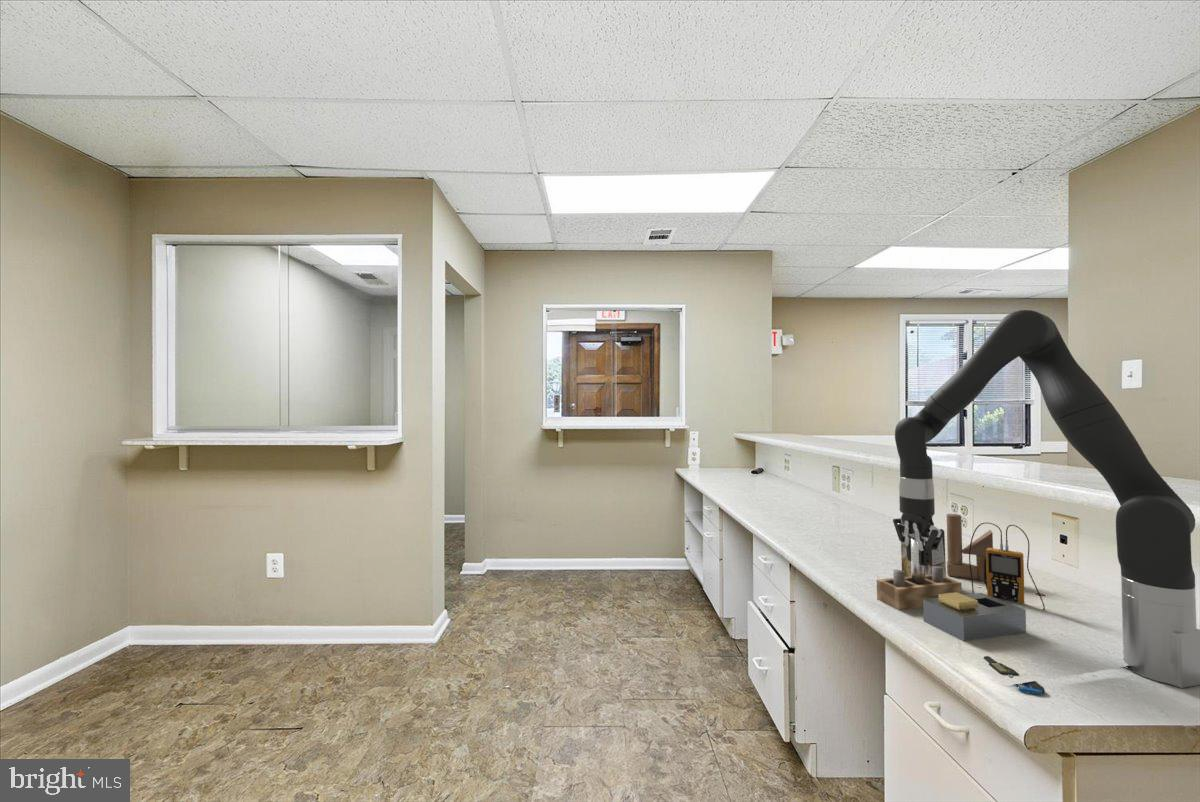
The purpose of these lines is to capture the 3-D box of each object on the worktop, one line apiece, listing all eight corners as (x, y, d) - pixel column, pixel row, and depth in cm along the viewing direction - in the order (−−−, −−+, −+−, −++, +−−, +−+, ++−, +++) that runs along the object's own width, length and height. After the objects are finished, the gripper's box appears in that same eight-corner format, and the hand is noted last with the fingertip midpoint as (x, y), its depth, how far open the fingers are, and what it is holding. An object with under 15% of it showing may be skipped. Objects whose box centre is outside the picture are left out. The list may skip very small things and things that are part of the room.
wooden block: (994, 582, 139) (992, 519, 140) (947, 576, 145) (946, 515, 145) (992, 578, 142) (990, 516, 143) (946, 572, 148) (945, 512, 148)
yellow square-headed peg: (957, 620, 112) (956, 592, 112) (978, 630, 107) (977, 600, 107) (939, 623, 111) (938, 594, 111) (959, 632, 106) (958, 602, 106)
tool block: (981, 618, 117) (981, 592, 117) (1026, 637, 107) (1025, 609, 107) (923, 625, 113) (923, 599, 113) (964, 645, 103) (963, 617, 103)
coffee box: (948, 588, 135) (946, 530, 135) (933, 592, 133) (931, 533, 133) (914, 578, 144) (913, 523, 144) (900, 582, 141) (899, 525, 141)
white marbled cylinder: (928, 588, 124) (927, 540, 124) (918, 589, 123) (917, 541, 123) (918, 584, 127) (917, 537, 127) (908, 585, 126) (907, 538, 126)
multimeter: (966, 605, 124) (963, 526, 124) (971, 593, 132) (969, 519, 132) (1044, 621, 114) (1041, 535, 114) (1044, 608, 122) (1042, 527, 122)
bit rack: (937, 596, 130) (936, 562, 130) (962, 606, 123) (961, 570, 123) (877, 603, 126) (876, 568, 126) (898, 614, 119) (898, 577, 120)
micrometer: (1048, 688, 85) (1016, 686, 86) (1048, 699, 85) (1016, 697, 86) (1003, 653, 97) (975, 651, 98) (1003, 662, 97) (975, 661, 98)
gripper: (953, 499, 119) (955, 570, 119) (906, 489, 133) (907, 553, 133) (927, 501, 117) (929, 573, 117) (882, 491, 131) (884, 556, 131)
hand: (917, 562), depth 125 cm, fingers closed on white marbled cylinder, 3 cm apart
